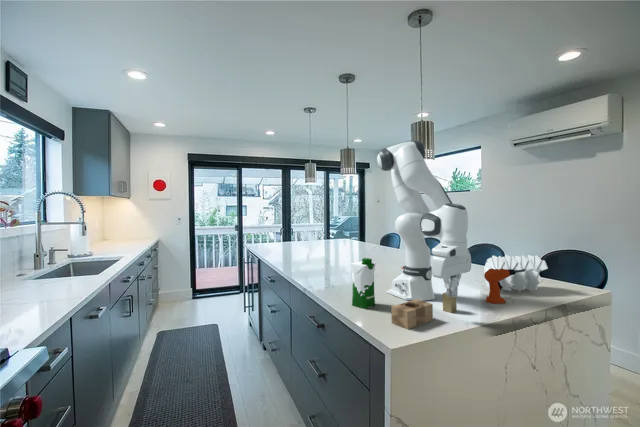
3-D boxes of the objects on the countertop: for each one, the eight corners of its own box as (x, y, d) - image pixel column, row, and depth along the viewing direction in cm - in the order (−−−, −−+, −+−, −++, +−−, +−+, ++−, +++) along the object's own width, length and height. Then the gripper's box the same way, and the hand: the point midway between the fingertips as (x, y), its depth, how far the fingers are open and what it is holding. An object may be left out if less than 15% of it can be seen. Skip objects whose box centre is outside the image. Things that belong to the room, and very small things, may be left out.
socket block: (391, 323, 106) (391, 306, 106) (416, 315, 114) (416, 299, 114) (407, 329, 100) (407, 311, 100) (432, 320, 108) (432, 303, 108)
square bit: (442, 310, 118) (442, 288, 118) (448, 309, 120) (447, 286, 120) (451, 313, 115) (451, 290, 115) (456, 311, 118) (456, 288, 117)
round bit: (444, 295, 108) (445, 270, 108) (449, 293, 111) (450, 269, 110) (453, 297, 106) (454, 272, 105) (459, 296, 108) (460, 271, 107)
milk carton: (365, 310, 121) (365, 260, 120) (348, 305, 127) (347, 258, 127) (378, 305, 127) (377, 258, 127) (361, 300, 133) (360, 256, 133)
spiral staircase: (483, 297, 150) (530, 293, 151) (502, 290, 134) (556, 285, 135) (472, 261, 158) (517, 258, 159) (489, 251, 142) (540, 247, 143)
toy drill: (533, 299, 127) (528, 264, 127) (490, 306, 126) (486, 271, 126) (524, 295, 132) (520, 262, 132) (483, 302, 131) (479, 268, 131)
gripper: (460, 245, 116) (458, 280, 117) (428, 250, 104) (427, 289, 105) (476, 247, 111) (475, 284, 112) (445, 252, 99) (443, 293, 100)
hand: (451, 286), depth 108 cm, fingers closed on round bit, 4 cm apart
